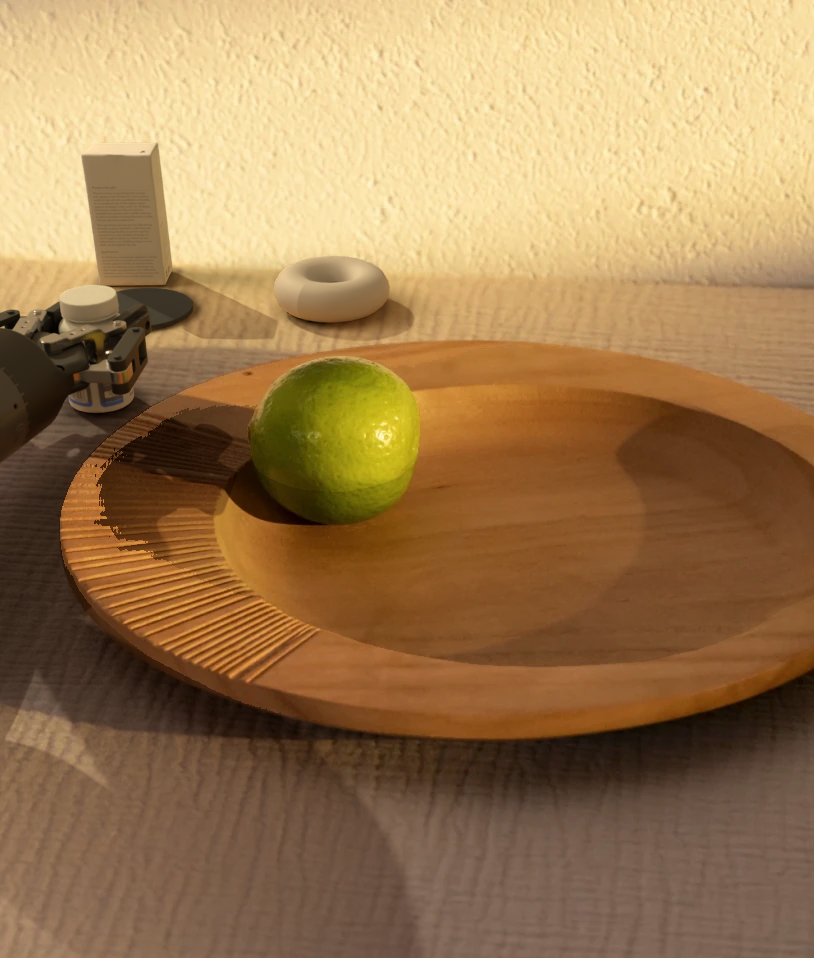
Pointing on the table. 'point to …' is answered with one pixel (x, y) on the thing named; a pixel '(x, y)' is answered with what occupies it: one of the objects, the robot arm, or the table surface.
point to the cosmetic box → (128, 213)
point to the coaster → (157, 304)
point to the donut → (331, 289)
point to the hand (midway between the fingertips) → (110, 312)
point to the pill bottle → (79, 310)
